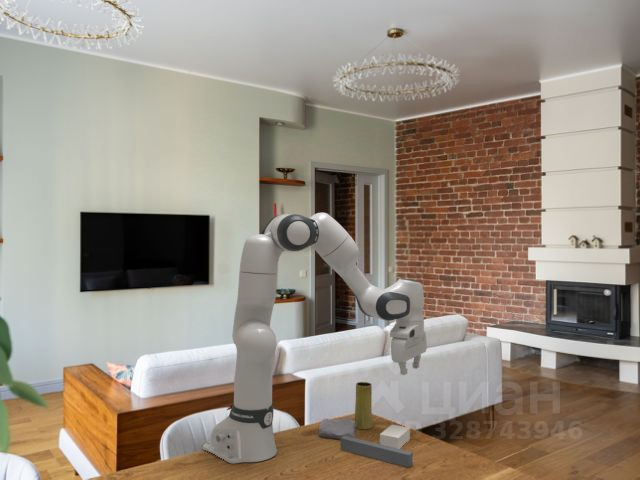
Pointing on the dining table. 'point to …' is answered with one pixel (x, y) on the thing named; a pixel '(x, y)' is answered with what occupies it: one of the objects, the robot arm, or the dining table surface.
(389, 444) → the offwhite block
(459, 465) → the dining table surface
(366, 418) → the vase
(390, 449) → the charcoal board
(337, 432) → the stone block
